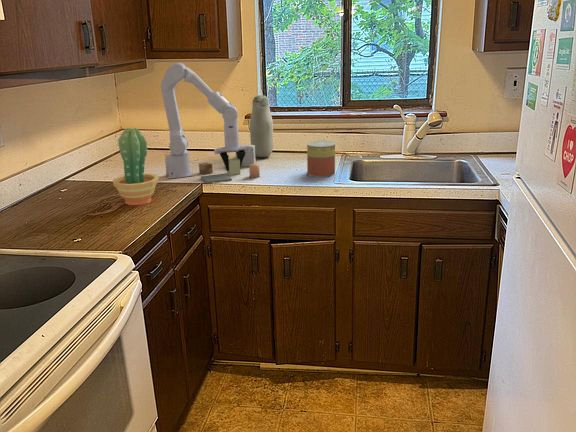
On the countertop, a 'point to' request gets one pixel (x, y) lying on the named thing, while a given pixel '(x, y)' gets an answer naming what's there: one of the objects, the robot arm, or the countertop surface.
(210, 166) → the walnut cube
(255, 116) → the grey-green bottle
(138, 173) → the potted cactus
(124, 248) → the countertop surface
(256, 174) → the terracotta capsule
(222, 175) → the slate mat
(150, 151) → the countertop surface
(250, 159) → the medicine box
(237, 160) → the sage green block
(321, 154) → the canned food
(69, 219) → the countertop surface
